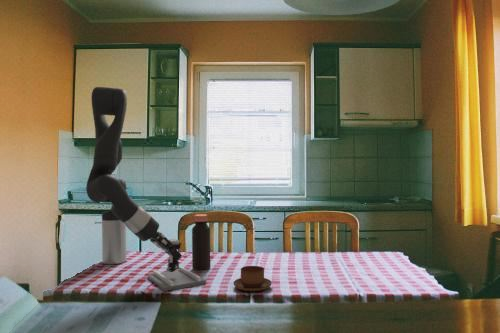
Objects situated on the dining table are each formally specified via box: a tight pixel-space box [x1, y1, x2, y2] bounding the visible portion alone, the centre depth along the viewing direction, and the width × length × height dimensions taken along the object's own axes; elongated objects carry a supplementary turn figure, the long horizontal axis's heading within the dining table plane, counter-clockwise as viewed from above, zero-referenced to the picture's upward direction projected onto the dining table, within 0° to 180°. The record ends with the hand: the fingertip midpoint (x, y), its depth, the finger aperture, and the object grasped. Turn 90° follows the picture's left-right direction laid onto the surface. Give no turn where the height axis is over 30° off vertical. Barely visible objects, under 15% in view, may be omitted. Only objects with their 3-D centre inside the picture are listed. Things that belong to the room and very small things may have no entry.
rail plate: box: [147, 265, 207, 292], centre depth 132 cm, size 17×14×2 cm
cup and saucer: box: [233, 265, 273, 292], centre depth 124 cm, size 12×12×6 cm
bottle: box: [191, 213, 211, 271], centre depth 148 cm, size 7×7×20 cm
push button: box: [166, 238, 182, 272], centre depth 131 cm, size 7×5×10 cm
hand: (176, 256), depth 132 cm, fingers closed on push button, 4 cm apart
